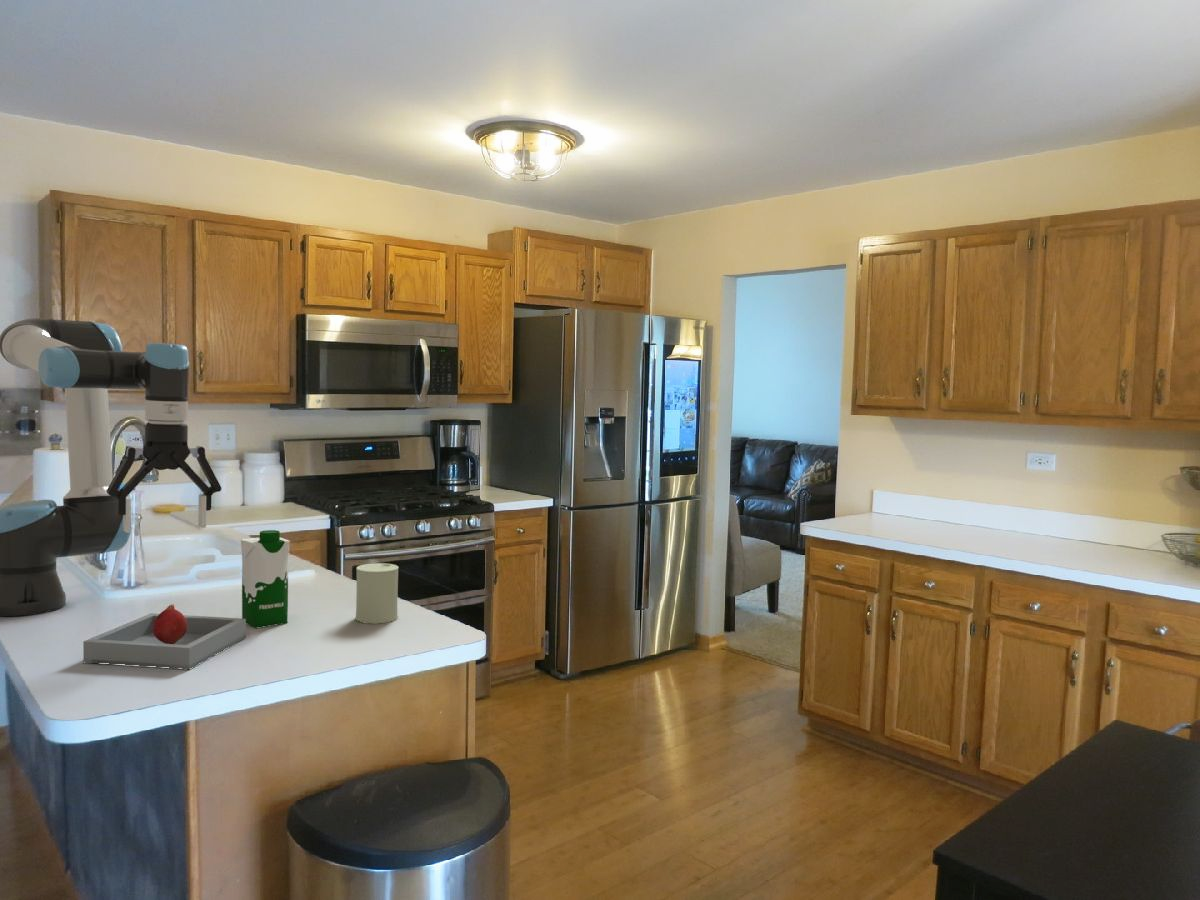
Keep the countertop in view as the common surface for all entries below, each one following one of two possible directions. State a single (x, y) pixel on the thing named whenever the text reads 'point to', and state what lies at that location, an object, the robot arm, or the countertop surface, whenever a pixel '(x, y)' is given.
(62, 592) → the robot arm
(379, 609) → the can
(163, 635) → the onion
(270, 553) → the milk carton
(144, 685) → the countertop surface
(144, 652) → the tray
